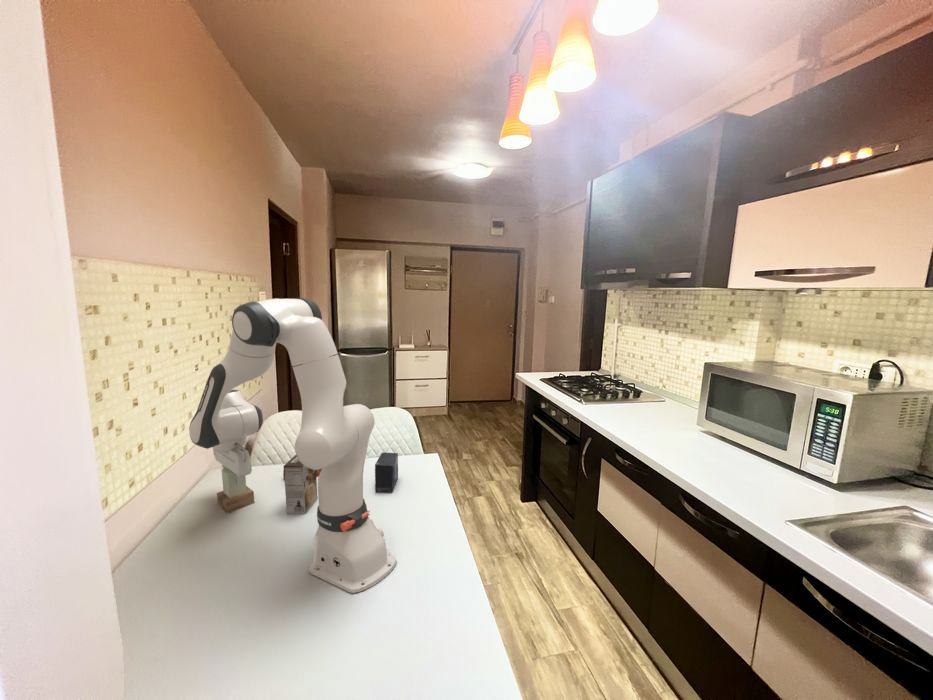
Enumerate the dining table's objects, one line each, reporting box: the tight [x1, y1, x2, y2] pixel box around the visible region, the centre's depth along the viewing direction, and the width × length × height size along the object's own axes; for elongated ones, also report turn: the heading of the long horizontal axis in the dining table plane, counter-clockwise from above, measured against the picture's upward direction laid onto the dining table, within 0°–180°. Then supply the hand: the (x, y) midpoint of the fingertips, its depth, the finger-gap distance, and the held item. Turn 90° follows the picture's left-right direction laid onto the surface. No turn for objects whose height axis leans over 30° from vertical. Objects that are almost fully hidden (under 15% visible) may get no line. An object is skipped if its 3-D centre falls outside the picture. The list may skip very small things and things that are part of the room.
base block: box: [216, 485, 255, 514], centre depth 124 cm, size 8×8×4 cm
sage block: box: [221, 468, 247, 498], centre depth 123 cm, size 5×5×8 cm
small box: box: [374, 451, 399, 494], centre depth 136 cm, size 11×6×10 cm, turn 179°
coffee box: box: [283, 454, 318, 515], centre depth 122 cm, size 9×6×16 cm
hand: (234, 480), depth 123 cm, fingers open, 8 cm apart
